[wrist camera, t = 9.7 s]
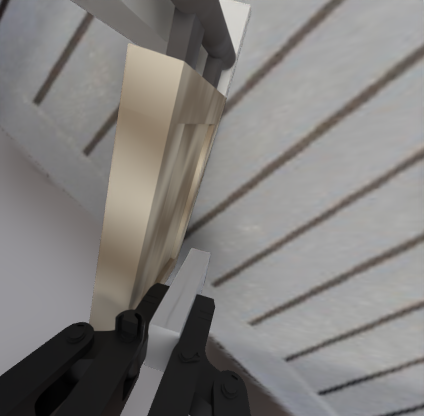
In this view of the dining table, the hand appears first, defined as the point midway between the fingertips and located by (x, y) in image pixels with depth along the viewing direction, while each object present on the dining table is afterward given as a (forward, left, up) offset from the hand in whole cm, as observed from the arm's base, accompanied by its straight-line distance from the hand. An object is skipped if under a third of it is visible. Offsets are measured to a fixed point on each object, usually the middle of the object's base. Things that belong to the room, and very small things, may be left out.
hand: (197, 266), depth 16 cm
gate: (-3, +5, -6) cm, 8 cm away
